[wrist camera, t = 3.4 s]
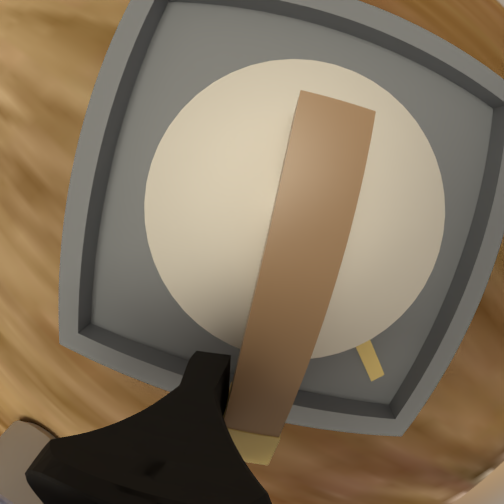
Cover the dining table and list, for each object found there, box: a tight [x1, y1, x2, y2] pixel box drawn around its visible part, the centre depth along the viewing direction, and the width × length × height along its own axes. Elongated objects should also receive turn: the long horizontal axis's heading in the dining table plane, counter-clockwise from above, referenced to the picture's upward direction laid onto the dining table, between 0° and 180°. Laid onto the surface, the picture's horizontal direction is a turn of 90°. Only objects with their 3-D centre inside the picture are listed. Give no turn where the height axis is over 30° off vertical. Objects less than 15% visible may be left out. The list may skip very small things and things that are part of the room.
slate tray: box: [59, 0, 504, 436], centre depth 11 cm, size 18×18×2 cm
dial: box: [144, 59, 445, 465], centre depth 9 cm, size 10×13×4 cm
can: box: [0, 420, 56, 504], centre depth 12 cm, size 8×8×12 cm
